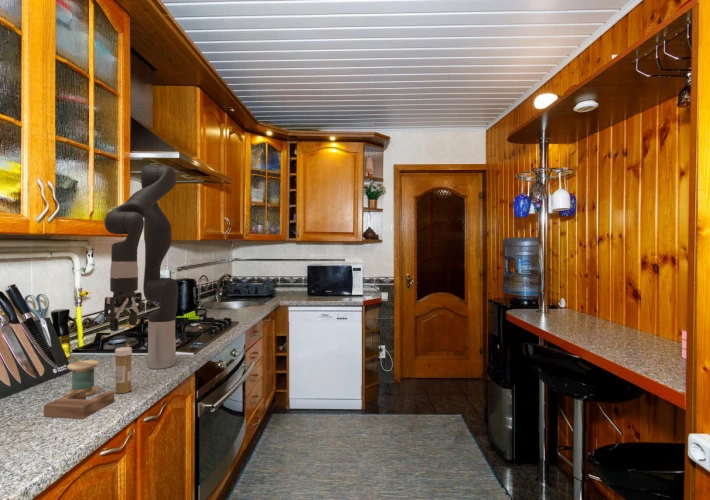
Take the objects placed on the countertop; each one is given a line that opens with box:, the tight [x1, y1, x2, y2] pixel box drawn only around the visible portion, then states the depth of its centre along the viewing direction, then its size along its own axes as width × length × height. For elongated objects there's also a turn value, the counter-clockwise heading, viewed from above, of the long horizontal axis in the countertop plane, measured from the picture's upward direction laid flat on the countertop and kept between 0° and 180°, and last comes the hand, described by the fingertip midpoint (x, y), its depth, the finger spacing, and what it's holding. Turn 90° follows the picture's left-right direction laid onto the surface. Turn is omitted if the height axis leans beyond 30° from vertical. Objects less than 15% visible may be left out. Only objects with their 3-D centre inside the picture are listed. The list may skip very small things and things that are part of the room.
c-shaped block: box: [43, 389, 115, 420], centre depth 112 cm, size 12×11×3 cm
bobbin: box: [66, 359, 100, 397], centre depth 124 cm, size 8×8×9 cm
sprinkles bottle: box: [114, 346, 133, 394], centre depth 126 cm, size 5×5×14 cm
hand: (123, 328), depth 126 cm, fingers open, 8 cm apart
